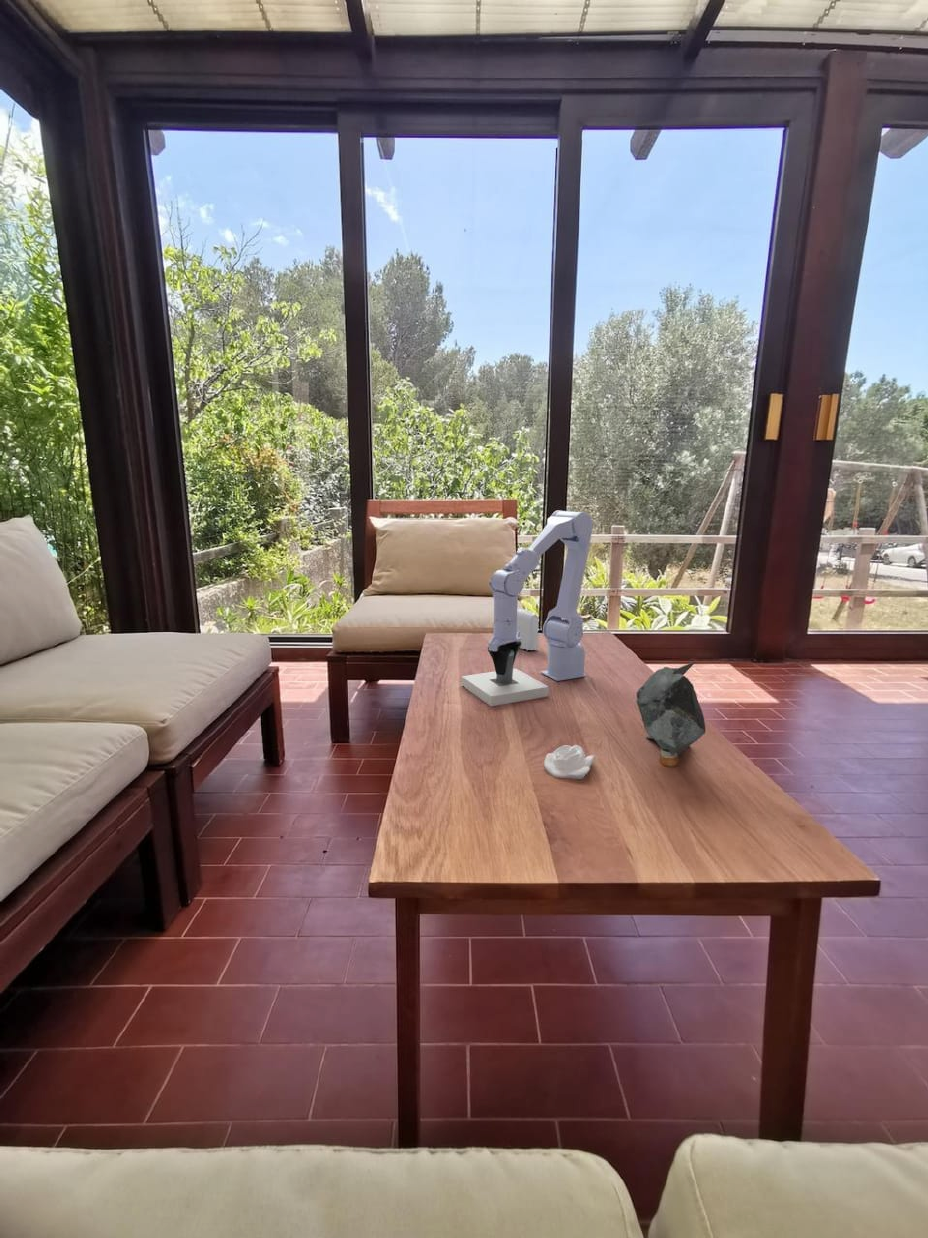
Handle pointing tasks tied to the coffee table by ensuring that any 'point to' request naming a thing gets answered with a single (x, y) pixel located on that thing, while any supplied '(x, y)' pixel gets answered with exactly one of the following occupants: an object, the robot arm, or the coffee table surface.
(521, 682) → the socket block
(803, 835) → the coffee table surface
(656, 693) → the grey rock on stand
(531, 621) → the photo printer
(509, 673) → the peg
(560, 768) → the rose
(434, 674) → the coffee table surface
